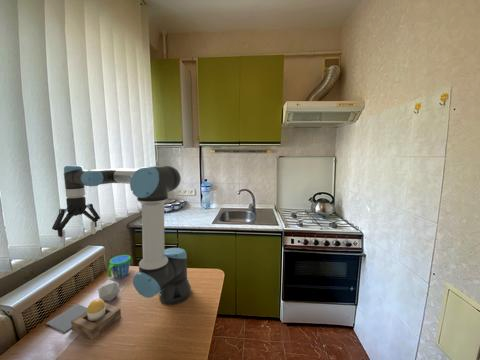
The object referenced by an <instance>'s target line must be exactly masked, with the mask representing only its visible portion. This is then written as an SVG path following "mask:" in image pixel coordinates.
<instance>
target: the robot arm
mask: <svg viewBox="0 0 480 360" xmlns="http://www.w3.org/2000/svg"><path fill="white" fill-rule="evenodd" d="M181 178H182V177H181V174H180V172H179V170H178V169H176V168H175V167H173V166H170V165H159V166H158V165H157V166H155V165H154V166H151V165H150V166H145V167H140V168H108V169H107V168H105V169H103V168H102V169H84V166H82V165H65V166H64V167H63V180H64V188H65V197H66V199H65V200H66V208H59V209H58V214H57V217H56V219H55V221H54V223H53V225H52V228H51V229H52V230H53V231H57V236H58V237H59V238H60V243H62V244H66V243H67V242H66V230H65V229H64V228H65V227H66V225H67V224H68V223H69V221H70V220H71V219H73V217H76V216H80V215H84V216H86V218H88V219H89V220H90V221H89V222H90V233H91V234H92V235H96V233H97V232H96V228H97V227H98V226H97V225H98V223H97V222H98V221H99V220H101V216H100V215H99V214H98V212H97V211H96V209H95V208H94V205H93V204H92V203H87V204H86V201H87V200H86V188H85V186H86V187H91V188H92V187H97V186H100V185H101V186H102V185H107V184H129V188H130V191H131V192H132V194H133V195H134V196H135V197H136V198H137V199H136V200H137V202H139V204H141V229H142V230H141V234H142V240H141V241H142V259H141V260H139V263H138V271H137V272H136V273H135V274H134V275H133V277H132V284H133V287H134V289H135V291H137V293H138V294H139V295H140V296H142V297H144V298H148V299H149V298H153V297H154V296H156V295H158V294H159V295H158V296H159V301H160V302H161V303H163V304H166V305H177V304H181V303H183V302H185V301H186V300H187V299H189V297H190V296H191V294H192V288H191V284H190V282H189V279H188V263H187V262H188V261H187V260H188V257H187V252H186V250H185V249H184V248H179V247H169V248H166V249H165V202H167V201H168V200H169V199H168V198H169V194H168V193H169V192H172V191H174V190H176V189H177V188H178V187H179V186H180V183H181V181H182V179H181ZM87 209H88V210H89V212H90V213H91V214H90V213H89V212H88V211H87ZM66 213H67V214H66ZM65 214H66V216H65Z"/></svg>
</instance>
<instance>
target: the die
mask: <svg viewBox="0 0 480 360" xmlns="http://www.w3.org/2000/svg"><path fill="white" fill-rule="evenodd" d="M97 291H98V299H102V300H103V301H107V302H112V301H113V300H114V298H115V297H116V296H117V295H118V294H119V293H120V292H121V288H120V283H119V282H117V281H115V280H111V279H107V280H106V281H105V282H104V283H103V284H102V285H101V286H100V287H99V288H98V290H97Z"/></svg>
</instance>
